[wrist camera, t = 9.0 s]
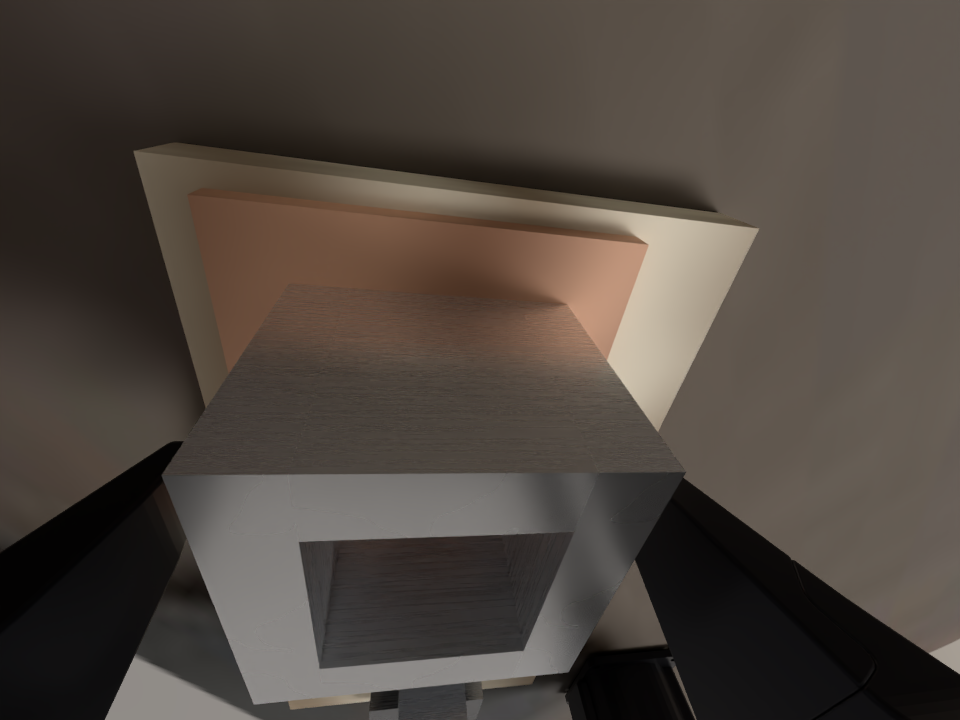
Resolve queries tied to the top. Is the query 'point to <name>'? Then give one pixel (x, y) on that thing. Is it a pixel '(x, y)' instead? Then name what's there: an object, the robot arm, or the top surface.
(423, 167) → the top surface
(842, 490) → the top surface
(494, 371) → the steel collar
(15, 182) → the top surface
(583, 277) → the board
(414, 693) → the bench vise
